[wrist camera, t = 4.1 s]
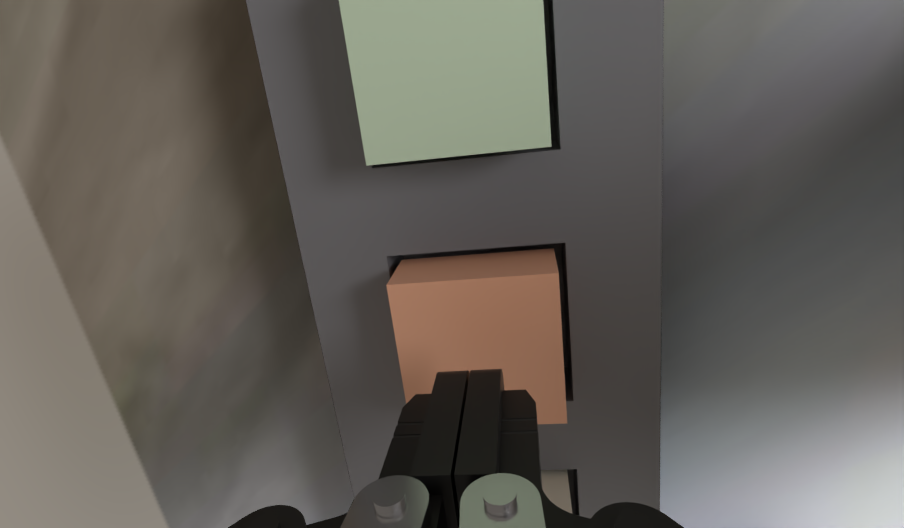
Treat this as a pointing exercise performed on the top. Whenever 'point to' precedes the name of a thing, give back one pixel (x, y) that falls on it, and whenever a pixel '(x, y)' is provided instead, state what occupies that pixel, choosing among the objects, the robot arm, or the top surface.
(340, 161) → the button panel
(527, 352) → the terracotta button
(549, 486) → the cream button
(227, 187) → the top surface
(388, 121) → the sage button
